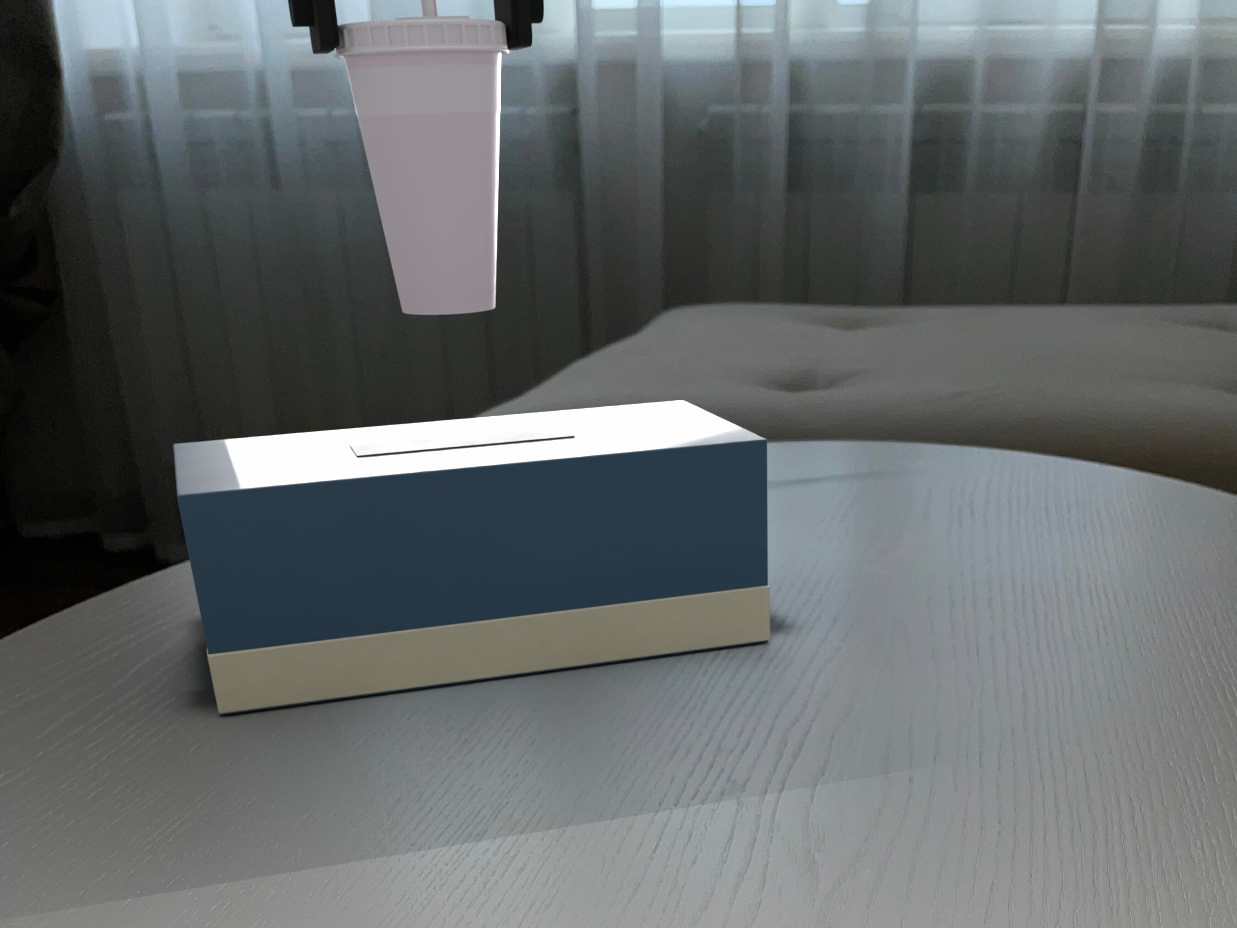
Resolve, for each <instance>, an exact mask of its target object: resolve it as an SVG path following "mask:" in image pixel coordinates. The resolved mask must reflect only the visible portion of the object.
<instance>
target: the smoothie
mask: <svg viewBox="0 0 1237 928" xmlns="http://www.w3.org/2000/svg"><path fill="white" fill-rule="evenodd" d="M420 2H421V11H422V16H407V17H397V18H394V19H381V20H367V21H356V22H348V23H341V24H338V31H339V39H340V46H338V47H337V48H335V53H334V58H337V59H338V60H343V61H344V65H345V69H346V71H347V77H348V81H349V85H350V91H351V95H352V99H353V104H354V110H355V113H356V117H357V122H358V126H359V130H360V134H361V139H362V143H363V147H364V151H365V155H366V160H367V164H368V169H369V173H370V178H371V181H372V185H373V186H372V187H373V190H374V195H375V199H376V205H377V208H378V212H379V216H380V221H381V225H382V229H383V234H384V239H385V243H386V247H387V251H388V256H389V260H390V264H391V265H390V266H391V269H392V272H393V277H394V282H395V285H396V291H397V295H398V299H399V303H400V307H401V312H402V313H404V314H406V315H407V314H408V315H416V316H417V315H419V316H420V315H421V316H441V315H442V316H443V315H444V316H445V315H460V314H461V315H462V314H472V313H480V312H486V311H492V310H494V309H495V308H496V297H497V296H496V295H497V259H498V258H497V257H498V255H497V254H498V253H497V252H498V214H499V170H500V169H499V168H500V167H499V166H500V165H499V164H500V133H501V132H500V131H501V129H500V125H501V89H502V88H501V85H502V84H501V82H502V81H501V79H502V78H501V77H502V76H501V74H502V56H504V55H509V54H510V50H508V47H507V38H506V25H505V24H504V23H503V22H500V21H495V19H494V20H493V19H485V18H471V17H470V15H444V16H443V15H442V16H441V15H440V16H439V11H438V1H437V0H420Z"/></svg>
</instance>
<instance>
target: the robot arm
mask: <svg viewBox="0 0 1237 928" xmlns="http://www.w3.org/2000/svg"><path fill="white" fill-rule="evenodd" d="M287 4H288V11H289V18H290V23H291V26H292V28H309V29H308V31H309V37H310V44H311V50H312V54H313V55H326V54H327V55H328V54H330V53H332V52H333V51H336V48H337V47H338V46H340V39H339V31H338V25H339V23H338V16H337V15H338V14H337V8H336V1H335V0H287ZM493 11H494V13H493V14H494V20H495V21H500V22H503V23H504V24H505V25H506V38H507V47H508V50H509V51H519V50H520V51H521V50H523V49H528V48H530V47H532V45H533V25H535V24H542V23H543V21H544V16H545V2H544V0H493Z"/></svg>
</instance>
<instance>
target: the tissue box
mask: <svg viewBox="0 0 1237 928" xmlns="http://www.w3.org/2000/svg"><path fill="white" fill-rule="evenodd" d="M172 448H173V450H172V451H173V462H174V474H175V485H176V486H175V487H176V498H177V504H178V508H179V513H180V519H181V525H182V528H183V534H184V539H185V543H186V549H187V554H188V558H189V563H190V568H191V574H192V579H193V584H194V589H195V594H196V598H197V603H198V604H197V605H198V609H199V615H200V619H201V624H202V629H203V634H204V639H205V644H206V655H207V656H206V657H207V662H208V666H209V672H210V677H211V682H212V688H213V692H214V696H215V701H216V706H217V711H218V714H220V715H221V716H227V715H234V714H235V715H236V714H242V713H249V712H250V713H251V712H257V711H264V710H272V709H279V708H285V707H287V708H288V707H294V706H301V705H302V706H303V705H309V704H316V703H323V702H331V701H338V700H345V699H355V698H360V697H367V696H368V697H369V696H375V695H384V694H390V693H398V692H405V691H411V690H413V691H414V690H420V689H426V688H427V689H428V688H435V687H443V686H449V685H458V684H465V683H473V682H479V681H488V680H494V679H502V678H508V677H517V676H523V675H524V676H525V675H531V674H532V675H533V674H539V673H546V672H554V671H555V672H556V671H560V670H568V669H576V668H584V667H591V666H599V665H607V664H613V663H622V662H628V661H635V660H643V659H650V658H658V657H666V656H673V655H680V654H687V653H694V652H703V651H710V650H718V649H725V648H732V647H733V648H734V647H740V646H747V645H754V644H761V643H768V642H769V641H770V639H771V592H770V591H771V587H770V585H769V578H768V577H769V561H768V560H769V557H768V556H769V549H768V548H769V547H768V545H769V544H768V543H769V542H768V541H769V539H768V537H769V536H768V535H769V533H768V532H769V531H768V528H769V527H768V440H767V438H764V437H763V436H760V435H758V434H756V433H755V432H752V431H750V430H747V429H745V428H743V427H742V426H739V425H737V424H735V423H732V422H730V421H729V420H726V419H724V418H722V417H720V416H717V415H716V414H714V413H711V412H710V411H707V410H706V409H703V408H701V407H699V406H697V405H695V404H693V403H690V402H688V401H686V400H683V399H679V400H668V401H656V402H644V403H633V404H621V405H610V406H609V405H608V406H599V407H597V406H596V407H586V408H573V409H564V410H563V409H562V410H551V411H539V412H528V413H527V412H526V413H517V414H515V413H514V414H505V415H492V416H482V417H471V418H459V419H457V418H456V419H447V420H435V421H425V422H423V421H422V422H413V423H401V424H388V425H378V426H365V427H355V428H343V429H332V430H331V429H330V430H320V431H319V430H318V431H307V432H295V433H285V434H273V435H262V436H248V437H238V438H225V439H215V440H205V441H204V440H203V441H191V442H179V443H173V445H172Z"/></svg>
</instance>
